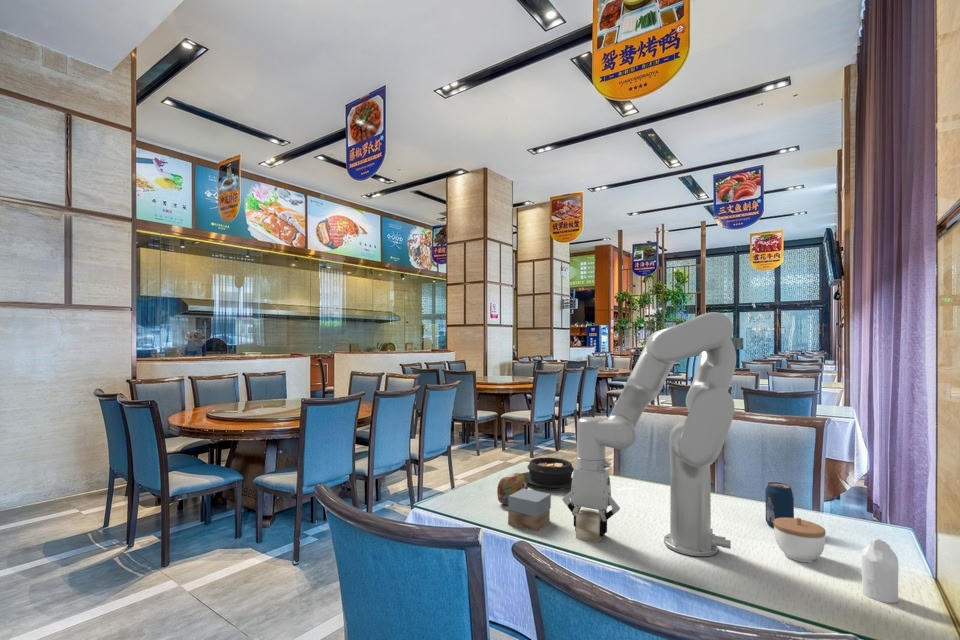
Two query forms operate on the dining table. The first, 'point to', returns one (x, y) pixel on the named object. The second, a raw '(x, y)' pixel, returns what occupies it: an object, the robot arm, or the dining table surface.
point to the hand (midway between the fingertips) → (590, 531)
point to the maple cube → (588, 525)
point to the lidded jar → (799, 538)
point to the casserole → (550, 473)
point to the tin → (511, 486)
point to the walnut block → (528, 520)
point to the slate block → (529, 502)
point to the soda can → (778, 502)
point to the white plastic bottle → (880, 572)
